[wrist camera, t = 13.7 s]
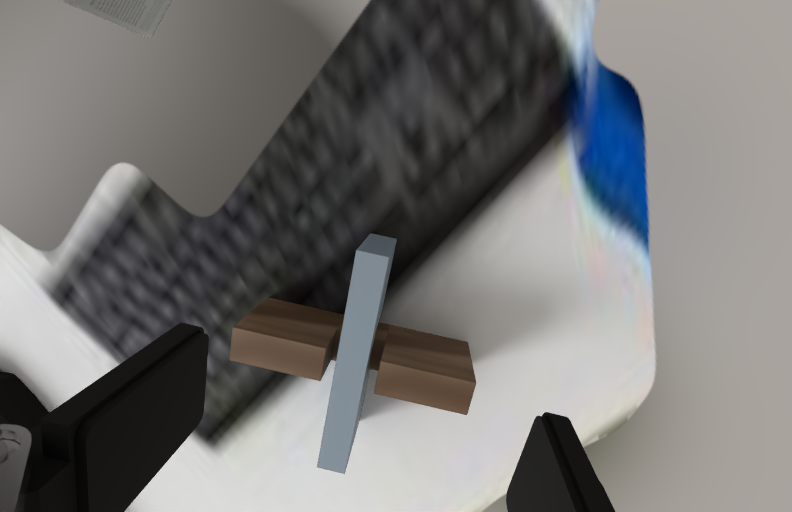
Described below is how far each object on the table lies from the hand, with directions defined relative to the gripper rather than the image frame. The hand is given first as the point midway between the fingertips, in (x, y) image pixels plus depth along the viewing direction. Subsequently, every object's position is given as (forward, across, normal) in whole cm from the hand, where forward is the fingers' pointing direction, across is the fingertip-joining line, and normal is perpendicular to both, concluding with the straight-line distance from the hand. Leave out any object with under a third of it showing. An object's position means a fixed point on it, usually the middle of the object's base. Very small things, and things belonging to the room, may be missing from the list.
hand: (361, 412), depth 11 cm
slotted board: (+25, +2, +12) cm, 27 cm away
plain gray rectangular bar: (+25, +2, +12) cm, 27 cm away
